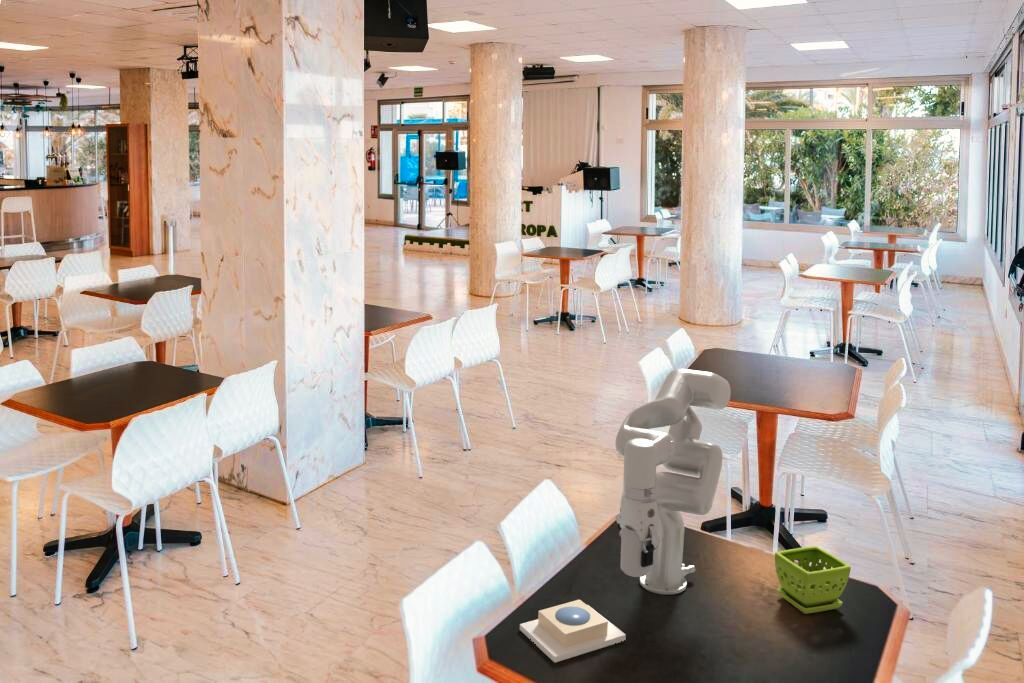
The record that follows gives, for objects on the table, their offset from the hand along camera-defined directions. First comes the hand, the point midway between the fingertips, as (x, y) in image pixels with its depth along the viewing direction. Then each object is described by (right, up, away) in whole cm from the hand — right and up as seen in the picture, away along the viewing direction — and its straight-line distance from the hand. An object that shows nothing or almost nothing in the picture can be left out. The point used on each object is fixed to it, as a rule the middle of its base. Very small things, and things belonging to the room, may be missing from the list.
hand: (636, 558), depth 212 cm
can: (0, -4, +1) cm, 4 cm away
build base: (-16, -18, -1) cm, 24 cm away
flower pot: (+47, -16, +16) cm, 52 cm away
